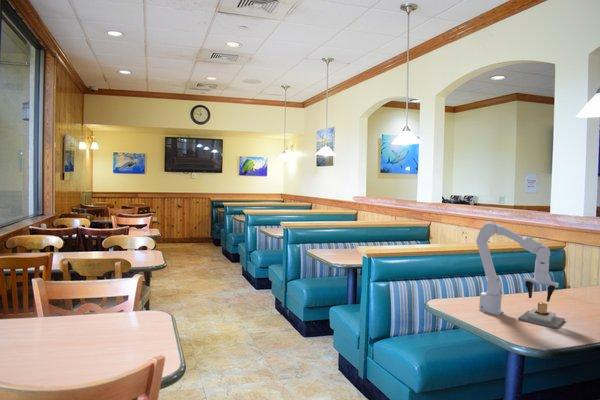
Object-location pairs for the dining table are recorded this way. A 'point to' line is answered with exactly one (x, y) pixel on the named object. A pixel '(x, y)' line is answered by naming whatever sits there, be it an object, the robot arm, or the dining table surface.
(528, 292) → the robot arm
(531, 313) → the flange socket
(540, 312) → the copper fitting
